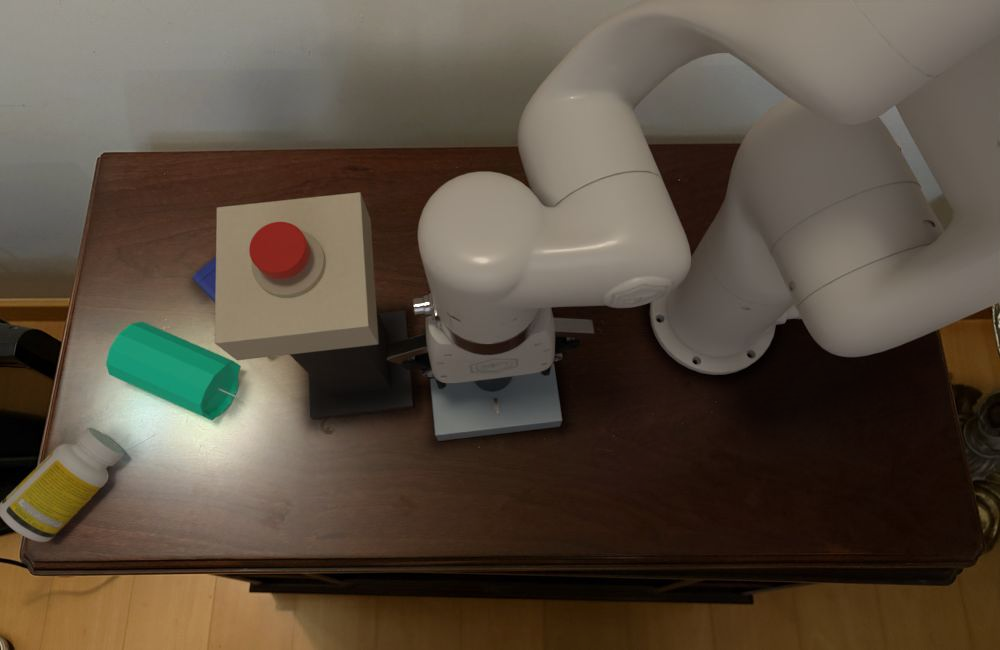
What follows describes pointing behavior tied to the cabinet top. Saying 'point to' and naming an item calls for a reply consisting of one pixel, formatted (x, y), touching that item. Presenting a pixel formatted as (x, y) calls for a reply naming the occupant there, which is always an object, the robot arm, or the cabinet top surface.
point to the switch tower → (313, 305)
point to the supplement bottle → (60, 486)
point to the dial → (493, 383)
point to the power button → (279, 250)
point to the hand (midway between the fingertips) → (492, 366)
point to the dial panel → (496, 407)
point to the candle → (174, 369)
